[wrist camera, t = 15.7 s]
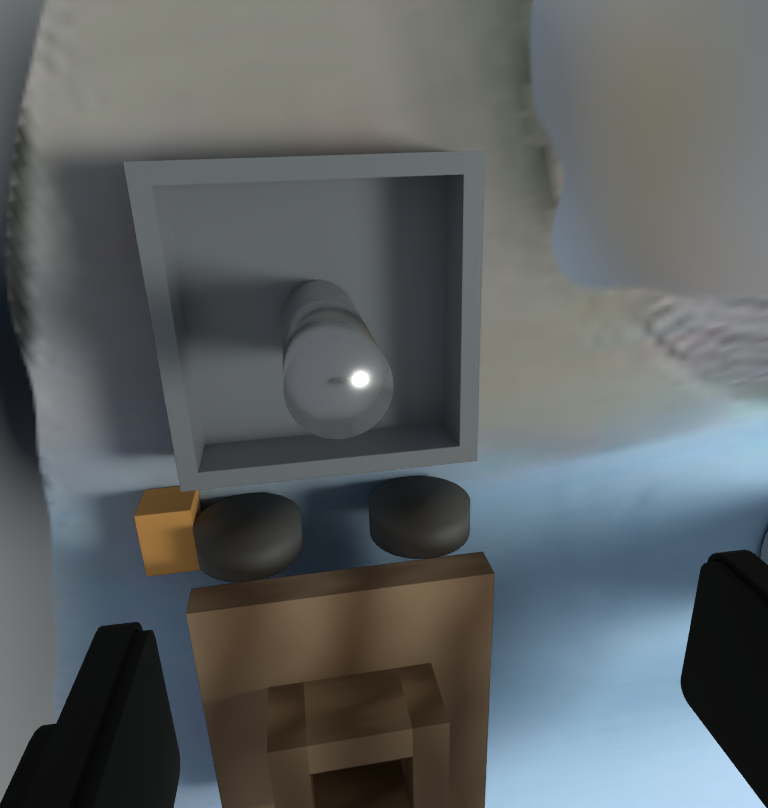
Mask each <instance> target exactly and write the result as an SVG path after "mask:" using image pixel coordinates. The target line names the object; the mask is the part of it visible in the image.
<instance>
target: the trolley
mask: <svg viewBox="0 0 768 808" xmlns="http://www.w3.org/2000/svg"><path fill="white" fill-rule="evenodd" d="M369 523H370V535H371V538H372V540H373V541H374V543H375V544H376V545H377V546H378V547H380V548H381V549H383V550H384V551H386V552H388V553H390V554H393V555H396V556H400V557H404V558H411V559H422V560H414V561H406V562H398V563H390V564H382V565H374V566H366V567H359V568H351V569H343V570H335V571H327V572H319V573H311V574H303V575H295V576H287V577H279V578H272V579H264V580H259V579H263V578H266V577H269V576H272V575H274V574H277V573H279V572H281V571H282V570H284V569H286V568H287V567H289V566H290V565H291V564H292V563H293V562H294V561H295V560H296V559H297V558H298V557H299V555H300V553H301V551H302V548H303V537H302V526H301V516H300V510H299V508H298V506H297V505H296V504H295V503H294V502H293V501H291V500H290V499H288V498H286V497H283V496H280V495H276V494H269V493H251V494H243V495H238V496H234V497H230V498H227V499H224V500H222V501H219V502H217V503H215V504H213V505H212V506H210V507H208V508H207V509H205V510H204V511H203V512H202V513H201V514H200V515H199V516H198V517H197V518H196V520H195V522H194V524H193V535H194V541H195V547H196V553H197V558H198V564H199V566H200V568H201V569H202V571H203V572H205V573H206V574H207V575H209V576H210V577H213V578H215V579H218V580H222V581H228V582H240V583H232V584H224V585H216V586H208V587H200V588H193V589H191V592H190V597H189V602H188V607H187V612H186V617H187V622H188V627H189V633H190V638H191V643H192V649H193V654H194V659H195V665H196V670H197V675H198V681H199V686H200V692H201V697H202V702H203V708H204V713H205V718H206V724H207V729H208V734H209V740H210V745H211V750H212V756H213V761H214V766H215V772H216V777H217V782H218V788H219V793H220V798H221V804H222V808H485V787H486V763H487V739H488V716H489V692H490V668H491V644H492V620H493V596H494V572H493V570H492V568H491V566H490V564H489V562H488V561H487V559H486V557H485V555H484V553H483V552H477V553H469V554H461V555H453V556H445V557H440V556H444V555H447V554H450V553H452V552H454V551H456V550H457V549H459V548H460V547H461V546H463V545H464V543H465V542H466V541H467V539H468V537H469V532H470V498H469V496H468V494H467V492H466V491H465V490H464V489H463V488H461V487H460V486H458V485H457V484H455V483H453V482H450V481H448V480H445V479H441V478H436V477H428V476H411V477H403V478H398V479H394V480H391V481H388V482H386V483H384V484H382V485H380V486H379V487H377V488H376V489H375V490H374V491H373V492H372V494H371V495H370V497H369ZM436 557H438V558H436ZM429 558H430V559H429ZM254 580H256V581H254ZM247 581H248V582H247Z"/></svg>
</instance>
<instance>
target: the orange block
mask: <svg viewBox="0 0 768 808" xmlns="http://www.w3.org/2000/svg"><path fill="white" fill-rule="evenodd" d="M201 513H202V512H201V506H200V500H199V494H198V490H194V491H184V492H181V490H180V486H178V487H168V488H158V489H149V490H145V491H144V494H143V496H142V499H141V501H140V503H139V506H138V508H137V511H136V513H135V515H134V518H135V523H136V528H137V532H138V537H139V542H140V547H141V551H142V556H143V561H144V566H145V570H146V575H147V576H155V575H163V574H172V573H180V572H188V571H196V570H201V568H200V566H199V564H198V558H197V553H196V547H195V541H194V535H193V524H194V522H195V520H196V518H197V517H198V516H199V515H200V514H201Z"/></svg>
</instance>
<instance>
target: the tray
mask: <svg viewBox="0 0 768 808" xmlns="http://www.w3.org/2000/svg"><path fill="white" fill-rule="evenodd" d="M123 164H124V170H125V176H126V181H127V187H128V193H129V198H130V204H131V210H132V216H133V221H134V227H135V233H136V238H137V244H138V250H139V255H140V261H141V267H142V273H143V278H144V284H145V290H146V295H147V301H148V307H149V313H150V318H151V324H152V330H153V335H154V341H155V347H156V353H157V358H158V364H159V370H160V375H161V381H162V387H163V392H164V398H165V404H166V410H167V415H168V421H169V427H170V432H171V438H172V444H173V450H174V455H175V461H176V467H177V472H178V478H179V484H180V490H181V492H184V491H194V490H203V489H213V488H222V487H232V486H241V485H251V484H260V483H270V482H279V481H289V480H299V479H308V478H318V477H327V476H337V475H346V474H356V473H365V472H375V471H384V470H394V469H404V468H413V467H423V466H432V465H442V464H451V463H461V462H470V461H477V439H478V401H479V364H480V327H481V290H482V252H483V215H484V178H485V150H483V151H451V152H419V153H387V154H354V155H322V156H290V157H258V158H226V159H193V160H161V161H129V162H123ZM310 280H326V281H330V282H332V283H335V284H337V285H338V286H340V287H341V288H342V289H343V290H344V291H345V292H346V293H347V294H348V295H349V297H350V298H351V300H352V302H353V304H354V305H355V307H356V309H357V311H358V312H359V314H360V316H361V317H362V319H363V321H364V323H365V324H366V326H367V328H368V329H369V331H370V333H371V335H372V336H373V338H374V340H375V341H376V343H377V345H378V347H379V348H380V350H381V352H382V354H383V355H384V357H385V359H386V360H387V362H388V364H389V366H390V369H391V372H392V376H393V395H392V399H391V402H390V405H389V407H388V409H387V411H386V412H385V414H384V416H383V417H382V418H381V419H380V420H379V422H377V423H376V424H375V425H374V426H373V427H372V428H370V429H369V430H367V431H366V432H364V433H362V434H359V435H357V436H354V437H350V438H345V439H328V438H323V437H320V436H317V435H314V434H312V433H310V432H308V431H307V430H305V429H304V428H302V427H301V426H300V425H299V424H298V423H297V422H296V421H295V420H294V419H293V417H292V416H291V414H290V413H289V410H288V408H287V406H286V403H285V400H284V394H283V356H282V317H281V314H282V307H283V304H284V301H285V299H286V298H287V296H288V295H289V293H290V292H291V291H292V290H293V289H294V288H295V287H297V286H298V285H300V284H302V283H304V282H306V281H310Z"/></svg>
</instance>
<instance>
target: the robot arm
mask: <svg viewBox="0 0 768 808" xmlns="http://www.w3.org/2000/svg"><path fill="white" fill-rule="evenodd" d="M681 689H682V692H683V695H684V697H685V699H686V701H687V703H688V704H689V705H690V707H691V708H692V709H693V711H694V712H695V713H696V715H697V716H698V717H699V719H700V720H701V721H702V723H703V724H704V725H705V727H706V728H707V729H708V731H709V732H710V733H711V735H712V736H713V737H714V739H715V740H716V741H717V743H718V744H719V745H720V747H721V748H722V749H723V751H724V752H725V753H726V755H727V756H728V757H729V759H730V760H731V761H732V763H733V764H734V765H735V767H736V768H737V769H738V771H739V772H740V773H741V775H742V776H743V777H744V779H745V780H746V781H747V783H748V784H749V785H750V787H751V788H752V789H753V791H754V792H755V793H756V795H757V796H758V797H759V799H760V800H761V801H762V803H763V804H764V805H765V806H766V808H768V531H767V533H766V535H765V538H764V542H763V545H762V549H761V556H760V558H759V557H758V556H756V555H755V554H754V553H752V552H750V551H748V550H737V551H729V552H721V553H715V554H712V555H711V556H710V557H709V559H708V562H707V563H705V564H703V566H702V567H701V570H700V575H699V581H698V586H697V592H696V597H695V603H694V608H693V614H692V619H691V625H690V631H689V636H688V642H687V647H686V653H685V658H684V664H683V669H682V675H681ZM179 774H180V754H179V749H178V744H177V739H176V734H175V729H174V725H173V720H172V715H171V710H170V706H169V701H168V696H167V691H166V686H165V682H164V677H163V672H162V667H161V662H160V658H159V653H158V648H157V643H156V639H155V635H154V632H153V631H152V630H146V631H143V630H142V627H141V625H140V623H139V622H132V623H123V624H115V625H107V626H101V627H99V628H98V630H97V632H96V633H95V636H94V638H93V640H92V643H91V645H90V647H89V650H88V652H87V654H86V656H85V659H84V661H83V663H82V666H81V668H80V670H79V673H78V675H77V677H76V680H75V682H74V684H73V687H72V689H71V691H70V693H69V696H68V698H67V700H66V703H65V705H64V707H63V710H62V712H61V714H60V717H59V719H58V721H57V724H50V725H43V726H41V727H40V728H38V729H37V730H36V731H35V733H34V734H33V736H32V738H31V740H30V741H29V743H28V745H27V747H26V749H25V752H24V754H23V756H22V758H21V760H20V763H19V765H18V767H17V769H16V771H15V773H14V775H13V777H12V779H11V782H10V784H9V786H8V788H7V790H6V792H5V795H4V797H3V799H2V801H1V803H0V808H174V802H175V797H176V792H177V786H178V781H179Z"/></svg>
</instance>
